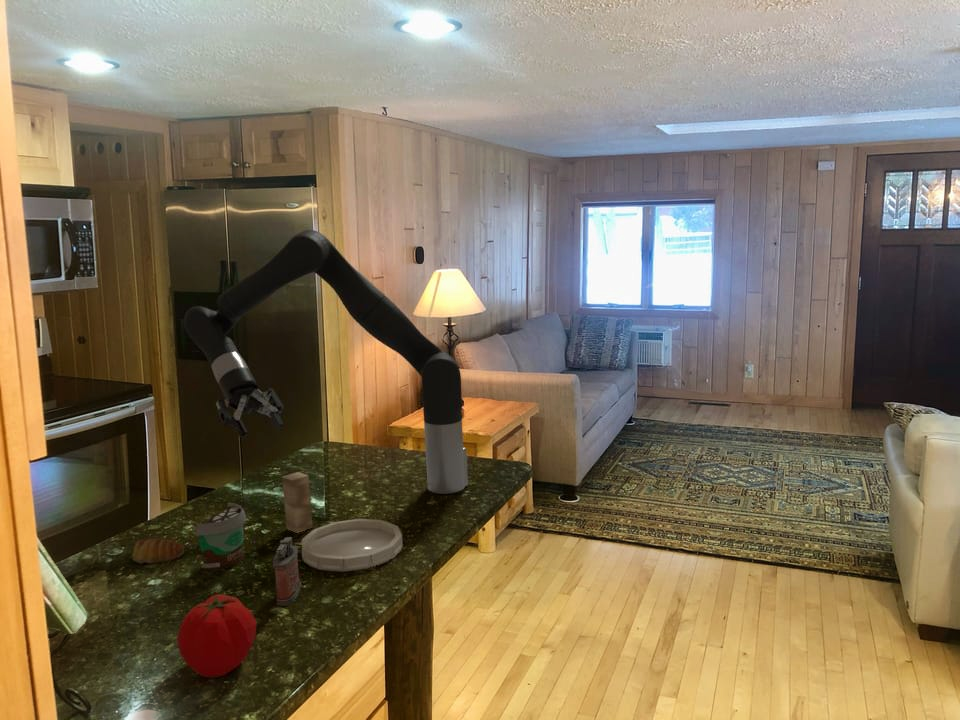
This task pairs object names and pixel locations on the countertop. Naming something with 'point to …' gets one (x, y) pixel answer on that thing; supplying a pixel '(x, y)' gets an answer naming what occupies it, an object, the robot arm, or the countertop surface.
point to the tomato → (216, 635)
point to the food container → (222, 538)
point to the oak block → (297, 502)
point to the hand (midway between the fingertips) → (263, 432)
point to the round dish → (351, 545)
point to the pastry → (157, 550)
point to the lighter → (286, 572)
